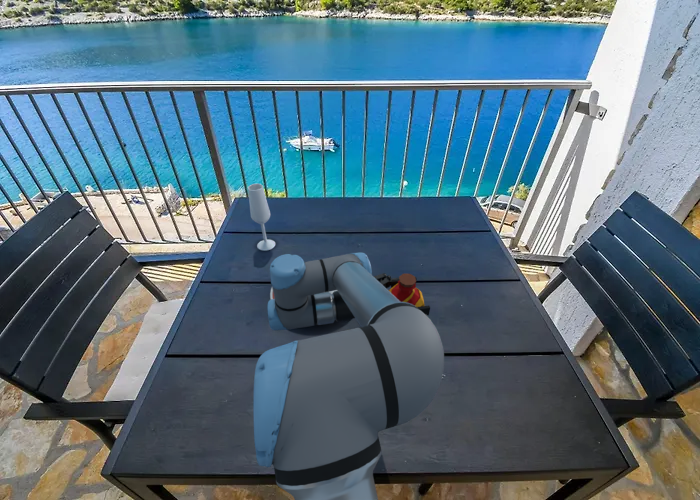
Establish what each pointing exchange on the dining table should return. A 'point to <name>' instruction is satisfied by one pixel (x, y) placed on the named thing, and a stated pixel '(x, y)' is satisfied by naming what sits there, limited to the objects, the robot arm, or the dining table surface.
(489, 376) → the dining table surface
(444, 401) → the dining table surface
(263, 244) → the champagne flute
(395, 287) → the potion bottle
